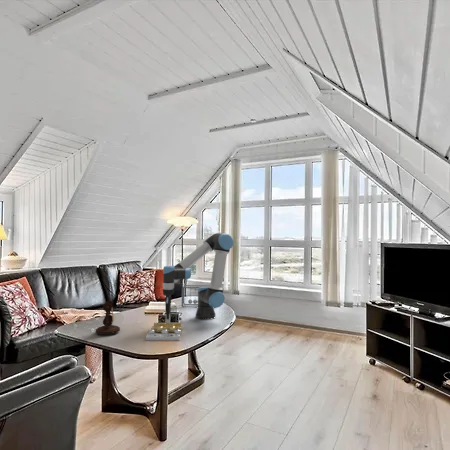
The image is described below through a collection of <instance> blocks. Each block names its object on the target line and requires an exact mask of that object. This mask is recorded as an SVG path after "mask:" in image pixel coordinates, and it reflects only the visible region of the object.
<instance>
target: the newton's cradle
mask: <svg viewBox="0 0 450 450" xmlns="http://www.w3.org/2000/svg"><path fill="white" fill-rule="evenodd" d="M209 286H210V284H207V285H205V284H184V285H183V287H181V307H182V308H184V307H198V299H196V298H194V299H193V300H192V299H191V297H192V294H191V293H192V289H194V292H196V289H199V288H200V287H209ZM185 289H190V290H189V291H190V292H189V293H190V294H189V299H188V300H187V303H185Z"/></svg>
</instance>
